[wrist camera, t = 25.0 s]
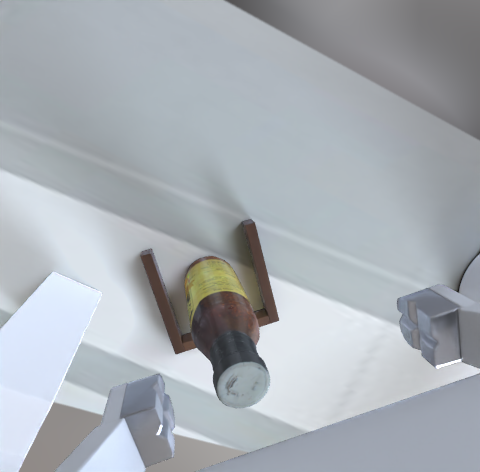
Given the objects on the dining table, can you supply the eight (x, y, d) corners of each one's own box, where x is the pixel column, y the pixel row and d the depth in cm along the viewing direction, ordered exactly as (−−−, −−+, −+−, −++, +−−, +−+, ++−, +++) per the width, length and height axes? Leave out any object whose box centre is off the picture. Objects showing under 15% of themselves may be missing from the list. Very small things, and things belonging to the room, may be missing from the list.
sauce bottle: (173, 272, 43) (175, 375, 24) (217, 244, 43) (253, 324, 24) (203, 312, 45) (226, 436, 26) (245, 285, 45) (297, 389, 26)
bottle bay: (251, 218, 43) (254, 222, 41) (275, 313, 47) (279, 320, 45) (141, 251, 42) (140, 256, 40) (175, 345, 46) (175, 354, 44)
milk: (52, 270, 41) (-74, 405, 20) (104, 292, 42) (37, 438, 21) (29, 315, 41) (-116, 491, 20) (81, 335, 43) (-6, 516, 22)
